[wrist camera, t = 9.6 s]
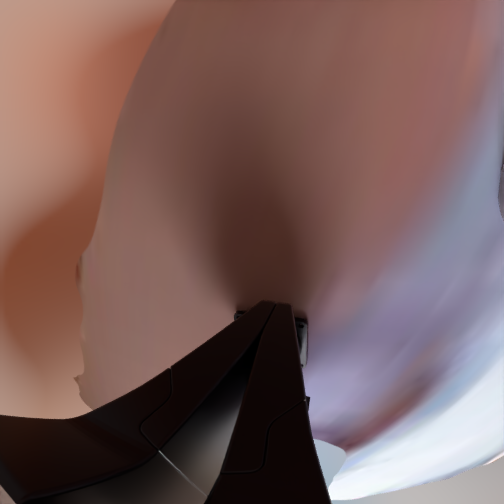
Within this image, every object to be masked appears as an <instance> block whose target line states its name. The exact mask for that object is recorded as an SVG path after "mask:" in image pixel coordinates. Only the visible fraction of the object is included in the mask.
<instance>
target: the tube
mask: <svg viewBox="0 0 504 504" xmlns="http://www.w3.org/2000/svg"><path fill="white" fill-rule="evenodd" d="M498 199H499V207H500V212H501V215H502V218H503V221H504V164H503V166H502V169H501V178H500V187H499V195H498Z"/></svg>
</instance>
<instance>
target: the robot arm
mask: <svg viewBox="0 0 504 504" xmlns="http://www.w3.org/2000/svg"><path fill="white" fill-rule="evenodd" d="M239 316H240V317H239ZM234 320H235V321H234V322H232V323H231V324H230V325H228V326H227V327H225V328H224V329H223V330H221V331H220V332H219V333H217V334H216V335H214V336H213V337H212V338H210V339H209V340H207V341H206V342H205V343H203V344H202V345H201V346H199V347H198V348H196V349H195V350H193V351H192V352H191V353H189V354H188V355H186V356H185V357H184V358H182V359H181V360H179V361H178V362H176V363H175V364H173V365H172V366H171V367H170V368H167V369H166V370H165V371H163V372H162V373H160V374H159V375H157V376H156V377H154V378H153V379H151V380H149V381H148V382H146V383H145V384H143V385H141V386H140V387H138V388H136V389H134V390H132V391H131V392H129V393H127V394H125V395H123V396H121V397H119V398H117V399H115V400H113V401H111V402H109V403H107V404H105V405H103V406H101V407H99V408H97V409H95V410H93V411H91V412H89V413H87V414H84V415H81V416H78V417H74V418H69V419H42V418H26V417H15V416H6V415H0V504H332V503H331V499H330V496H329V493H328V489H327V486H326V483H325V479H324V476H323V472H322V469H321V466H320V462H319V459H318V456H317V452H316V448H315V444H314V440H313V437H312V432H311V426H310V421H309V415H308V410H309V402H310V397H308V396H306V394H305V386H304V379H303V372H302V368H305V367H306V364H307V337H308V323H307V321H306V320H305V319H301V318H294V314H293V308H292V305H291V304H288V303H281V302H279V303H276V302H273V301H266V300H262V301H260V302H259V303H258V304H256V305H255V306H254V307H252V308H251V309H250V310H248V311H247V312H244V311H237V312H236V313H235V315H234ZM300 324H303V325H300Z"/></svg>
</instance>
